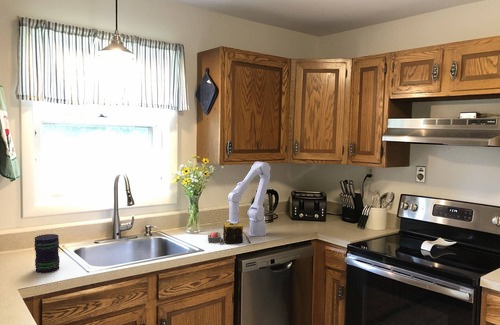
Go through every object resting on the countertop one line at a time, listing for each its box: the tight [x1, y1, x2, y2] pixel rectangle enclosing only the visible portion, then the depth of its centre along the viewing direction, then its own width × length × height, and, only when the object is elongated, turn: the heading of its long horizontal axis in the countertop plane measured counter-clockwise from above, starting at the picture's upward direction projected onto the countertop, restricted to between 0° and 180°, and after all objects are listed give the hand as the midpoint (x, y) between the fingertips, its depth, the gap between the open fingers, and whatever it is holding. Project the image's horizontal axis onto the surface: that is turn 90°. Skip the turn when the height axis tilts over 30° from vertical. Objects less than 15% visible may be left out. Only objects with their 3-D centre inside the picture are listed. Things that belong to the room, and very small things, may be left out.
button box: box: [207, 234, 222, 244], centre depth 236 cm, size 7×7×3 cm
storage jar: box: [34, 233, 60, 274], centre depth 186 cm, size 10×10×15 cm
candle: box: [222, 221, 244, 245], centre depth 235 cm, size 10×10×10 cm
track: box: [215, 231, 252, 246], centre depth 243 cm, size 17×25×1 cm
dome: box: [210, 231, 218, 237], centre depth 236 cm, size 4×4×5 cm
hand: (233, 235), depth 243 cm, fingers closed
